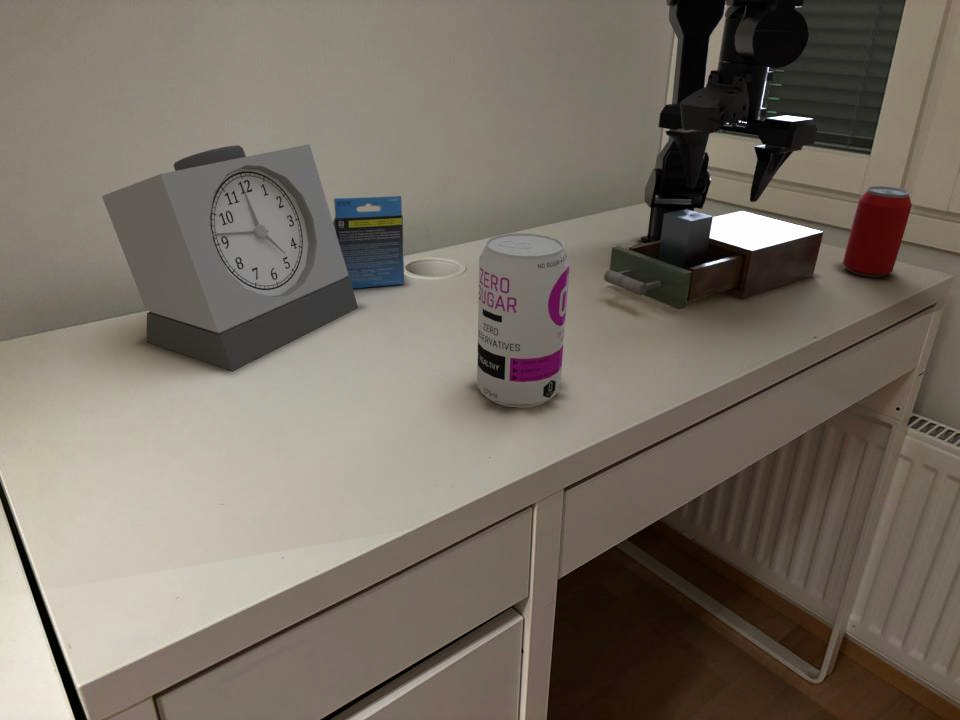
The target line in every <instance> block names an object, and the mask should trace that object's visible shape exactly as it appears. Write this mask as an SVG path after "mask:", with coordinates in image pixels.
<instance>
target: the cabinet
mask: <svg viewBox="0 0 960 720" xmlns="http://www.w3.org/2000/svg"><path fill="white" fill-rule="evenodd" d="M823 236H824V231H822V230H819V229H814V228H810V227H806V226H803V225H800V224H799V225H798V224H794V223H791V222H787V221H783V220H779V219H775V218H772V217H767V216H765V215H760V214H756V213H753V212H748V211H744V210H739V211H735V212H730V213H725V214H722V215H717V216H713V219H712V225H711V231H710V237H709V243H708V244H712V245H715V246H718V247H721V248H725V249H728V250H731V251H734V252H738V253H741V254H744V255H746V258H745V263H744V269H743V274H742V279H741V284H740V286H738V287H735V288H732V289H729V290H725V291H723V293H726V294H729V295H732V296H735V297H738V298H741V299H745V298H746V299H747V298H749V297H752V296H754V295H757V294H761V293H764V292H765V293H766V292H768V291H771V290H773V289H776V288H780V287H783V286H786V285H789V284H792V283H795V282H799V281H802V280H804V279H807V278H811V277H813V276H814V273H815V269H816V265H817V261H818V257H819V252H820V249H821V245H822V241H823Z"/></svg>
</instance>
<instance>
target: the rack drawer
mask: <svg viewBox="0 0 960 720" xmlns="http://www.w3.org/2000/svg"><path fill="white" fill-rule="evenodd" d="M659 247H660V240H658V241H653V242H646V243H641V244H637V245H632V246H628V248H626V247H623V246H620V245H616V246H612V247H611V253H610V263H609V270H606V272H605V273H604V275H603V279H604V282H606V283H608V284H611V285H612V286H613V285H614V286H616V287H618V288H620V289H623V290H626V291H627V292H631V293H633V294H635V295H638V296H645V297H647V298H649V299H652V300H654V301H657V302H659V303H662V304H664V305H667V306H669V307H672V308H674V309H677V310H678V311H681V310H685V309H686V308H687V303H689V302H693V301H696V300H699V299H702V298H705V297H709V296H713V295H716V294H719V293H722V292H724V291H725V290H729V289H732V288H735V287H738V286H740V284H741V279H742V274H743V269H744V263H745V258H746V255H744V254H741V253H738V252H734V251H731V250H728V249H725V248H721V247H718V246H715V245H712V244H708V249H707V255H706V261H705V264H702V265H698V266H694V267H691V268H689V270H685V269H683V268H680V267H677V266H674V265H671V264H668V263H665V262H663V261H660V260H658V255H659Z"/></svg>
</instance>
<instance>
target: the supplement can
mask: <svg viewBox="0 0 960 720" xmlns="http://www.w3.org/2000/svg"><path fill="white" fill-rule="evenodd" d="M485 243H486V245H485V246H484V248H483V250H482V252H481V254H479V257H478V303H477V304H478V305H477V306H478V307H477V308H478V310H477V311H478V313H477V314H478V315H477V361H476V362H477V365H476V366H477V367H476V370H477V372H476V383H477V384H476V385H477V386H476V387H477V388H478V390H479V391H480V392H481V394H483V395H484V396H485V398H487V399H488V400H490V401H491V402H493V403H495V404H497V405H500V406H504V407H508V408H518V409H519V408H520V409H522V408H523V409H524V408H534V407H537V406H540V405H543V404H545V403H547V402H548V401H549V400H551V399H552V398H553V397H554V396H556V395H558V392H559V391H560V389H561V381H562V370H563V369H562V368H563V356H564V355H563V354H564V343H565V329H566V318H567V315H566V313H567V303H568V292H569V291H568V290H569V277H570V265H571V264H570V261H569V258H568V256H567V253H566V252H565V245H564V243H563V242H562V241H561V240H559V239H557V238H555V237H551V236H548V235H544V234H538V233H529V232H528V233H527V232H515V233H514V232H512V233H511V232H510V233H504V234H498V235H495V236H492V237H490V238H489V239H487V241H485Z"/></svg>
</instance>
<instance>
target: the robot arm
mask: <svg viewBox="0 0 960 720" xmlns="http://www.w3.org/2000/svg"><path fill="white" fill-rule="evenodd" d="M804 3H805V2H804V0H666V6H667V7H669V9H668V21H669V24H670V26H671V28H672V30H673V32H674V34H675V37H676V38H677V47H676V56H675V66H674V67H675V68H674V75H673V77H674V78H673V88H672V89H673V90H672V99H671V103H669V104H667V103H666V104H665V105H664V107H663V108H662V109H661V111H660V112H659V117H658V123H657V124H658V125H657V127H658V128H661V129H666V130H665V134H666V136H667V137H668V140H667V141H666V144H665V145H664V146H663V148H662V149H661V150H660V152H659V153H658V155H656V158H655V164H654V165H655V166H654V168H653V169H652V170H651V173H650V175H649V178H648V180H647V183H646V185H645V188H644V199H643V201H644V202H645V204H646V205H647V206H648V208H649V209H650V213H649V220H648V226H647V227H648V229H647V234H646V235H642V236H640V241H643V242H646V243H649V242H653V241H658V240H661V233H662V225H663V218H664V214H665V213H669V212H674V211H679V210H684V209H688V210H691V211H695V209H699V210H703V208H704V206H705V202H706V200H707V196H708V192H709V189H710V186H711V183H712V179H711V174H710V170H709V162H710V156H709V154H708V152H707V151H706V149H707V145H708V141H709V139H710V138H709V137H710V134H714V133H717V132H719V131H720V130H721V131H727V132H733V133H740V134H747V135H753V136H758V139H759V140H760V142H761V144H762V145H755V146H754V148H753V149H754V152H755V155H756V163H755V169H754V174H753V178H752V183H751V186H750V193H749V202H750V203H755V202H758V200H759V199H760V198H761V196H762V195H763V193H764V191H765V190H766V188H767V187H768V185H770V182H771V181H772V180H773V178H774V176H775V175H776V174H777V172H778V171H779V170H780V168H781V167H782V166H783V164H785V162H786V161H787V160H788V159H789V157H791V156H792V154H793V153H794V152H799V151H802V150H803V147H804V146H809V145H815V142H816V137H817V133H818V128H817V124H816V121H815V119H814V118H811V117H802V116H794V115H779V116H771V117H767V112H768V108H766V107H762V106H763V101H764V96H765V90H766V85H767V82H772V81H773V80H774V74H775V71H769V69H770V68H771V69H780V68H785V67H787V66H789V65H791V64H793V63H794V62H795V61H796V60H798V58H800V56H801V55H802V54H803V52H804V50H805V49H806V47H807V45H808V41H809V37H810V33H809V28H808V23H807V20H806V19H805V17H804V16H803V14H802V13H801V12H799V11H798V10H797V9H795V8H803V5H804ZM727 6H728V7H727ZM726 7H727V9H726ZM725 10H726V11H725ZM723 18H725V19H724V26H723V32H722V38H721V44H720V45H721V46H720V51H719V58H718V64H717V69H714V70H710V72H709V74H708V77H707V70H708V61H709V51H710V42H711V41H710V40H711V37H712V35H713V33H714V31H715V30H716V28H717V27H718V25H720V22H721V21H722V20H723ZM706 77H707V82H706ZM761 118H764V119H761Z"/></svg>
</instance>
